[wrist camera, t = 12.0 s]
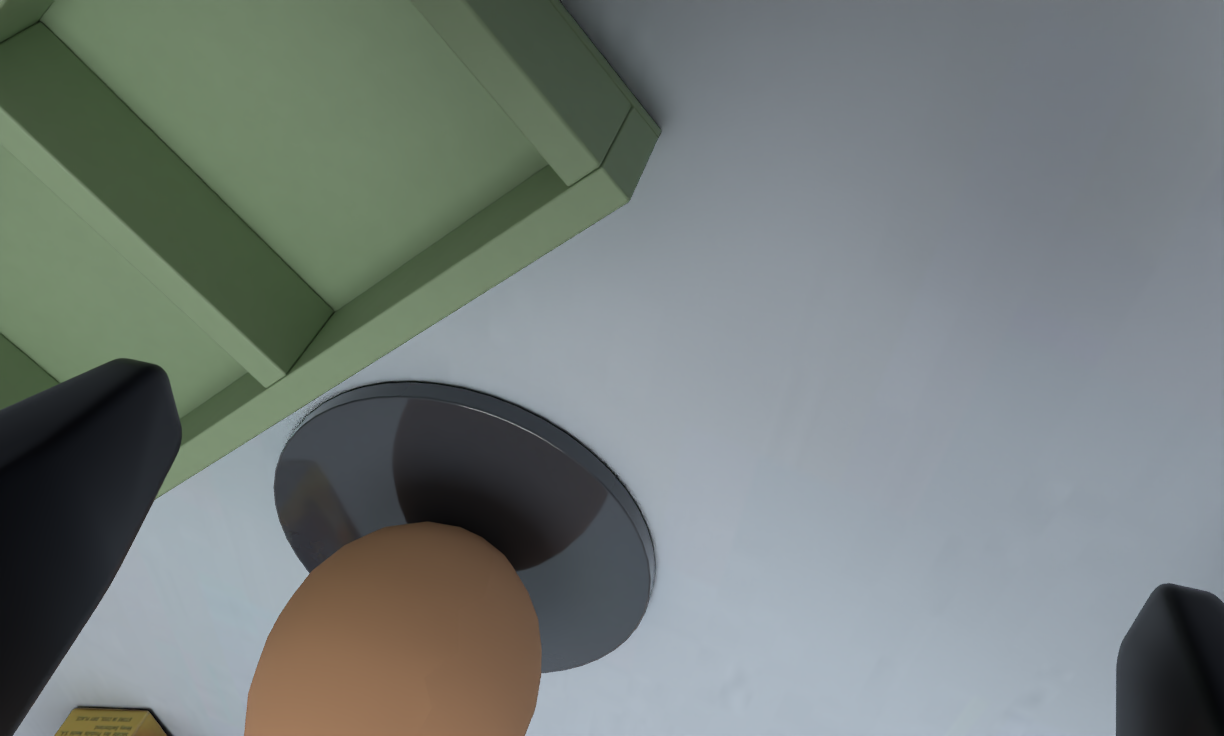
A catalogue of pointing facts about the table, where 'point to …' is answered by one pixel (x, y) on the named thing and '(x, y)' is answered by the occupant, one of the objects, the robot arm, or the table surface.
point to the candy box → (110, 723)
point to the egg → (402, 643)
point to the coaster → (475, 502)
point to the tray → (284, 186)
